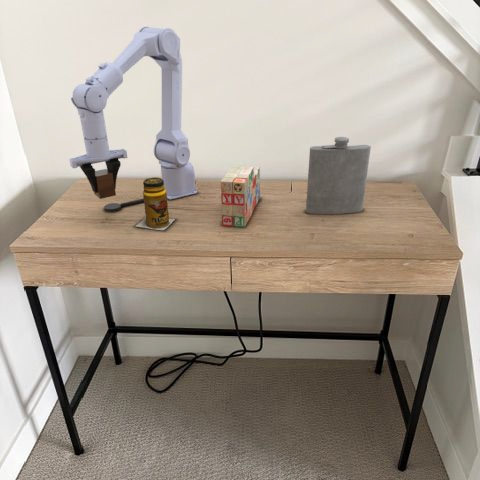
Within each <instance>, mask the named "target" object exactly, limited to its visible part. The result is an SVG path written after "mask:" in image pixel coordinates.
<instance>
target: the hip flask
mask: <svg viewBox="0 0 480 480" xmlns="http://www.w3.org/2000/svg"><path fill="white" fill-rule="evenodd" d="M349 141H350V138H349V137H346V136H337V137H334V144H327V145H326V144H325V145H321V146H319V145H314V146H310V147H309V158H308V173H307V185H306V186H307V187H306V188H307V190H306V201H305V202H306V203H305V212H306V213H307V214H310V215H311V214H312V215H341V214H353V213H360V212H363V207H364V201H365V193H366V187H367V186H366V185H367V179H368V177H367V176H368V171H369V164H370V155H371V149H372V147H371V146H370V145H368V144H357V145H348V143H350V142H349Z"/></svg>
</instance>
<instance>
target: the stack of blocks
mask: <svg viewBox="0 0 480 480" xmlns="http://www.w3.org/2000/svg"><path fill="white" fill-rule="evenodd" d="M260 169H261V167H260V166H245V165H244V166H243V165H231V166H230V167H229V169H228V171H227V172H226V174H225V175H224V176H223V177H222V179H221V180H220V192H221V193H220V199H221V200H220V201H221V202H220V203H221V225H222V226H223V227H237V228H246V225H247V223H249V220H250V219H251V217H252V214H253V212H254V209H255V207H256V206H257V204H258V202H259V201H260V198H261V177H260V176H261V173H260V172H261V170H260Z"/></svg>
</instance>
